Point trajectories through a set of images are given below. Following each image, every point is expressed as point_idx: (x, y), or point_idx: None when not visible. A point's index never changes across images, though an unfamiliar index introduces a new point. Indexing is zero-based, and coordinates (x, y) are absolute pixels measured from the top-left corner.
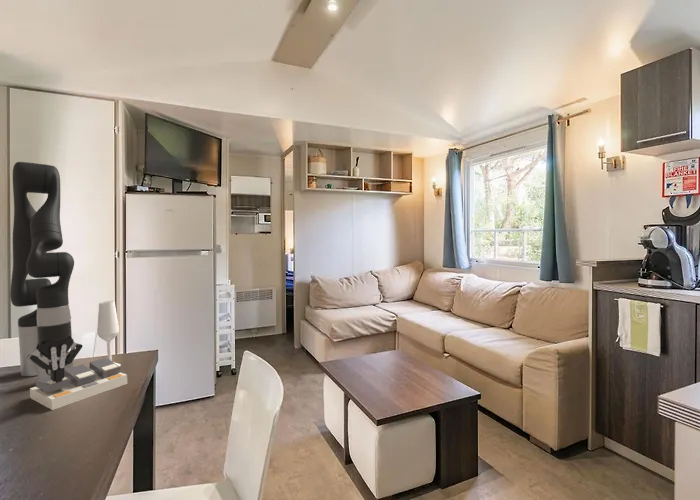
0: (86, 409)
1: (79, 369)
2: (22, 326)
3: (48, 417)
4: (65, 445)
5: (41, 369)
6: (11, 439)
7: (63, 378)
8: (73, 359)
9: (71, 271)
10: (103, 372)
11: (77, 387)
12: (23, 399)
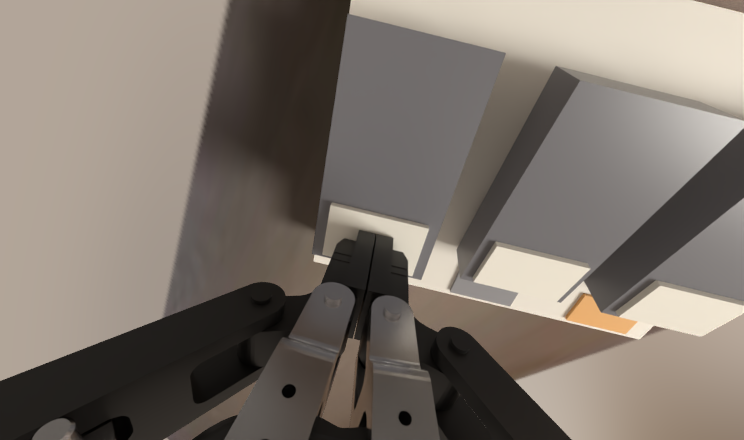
0: None
1: (610, 187)
2: None
3: (289, 271)
4: (244, 400)
5: None
6: (181, 292)
7: (407, 255)
8: (467, 419)
9: None
10: (599, 309)
11: (449, 251)
12: None
